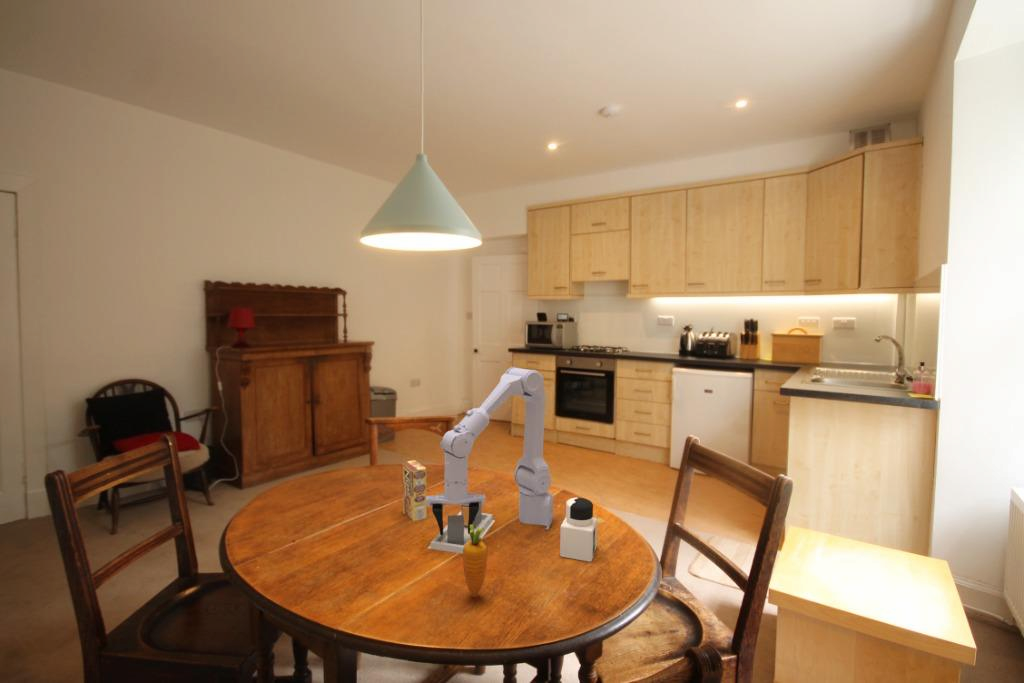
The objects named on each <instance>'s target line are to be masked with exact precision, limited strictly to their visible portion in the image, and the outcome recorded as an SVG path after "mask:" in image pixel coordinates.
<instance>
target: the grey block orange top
mask: <svg viewBox="0 0 1024 683" xmlns="http://www.w3.org/2000/svg"><path fill="white" fill-rule="evenodd" d="M447 525H448V526H447ZM447 525H446V526H447V543H451V544H457V545H464V515H457V514H452V515H448V514H447Z"/></svg>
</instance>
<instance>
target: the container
mask: <svg viewBox="0 0 1024 683" xmlns="http://www.w3.org/2000/svg"><path fill="white" fill-rule="evenodd" d="M565 505H566V506H565V518H564V520H563V521H562V523H561V525H560V539H559V540H560V541H559V543H560V546H559V556H560V557H562V558H565V559H566V558H567V559H573V560H576V561H577V560H578V561H583V562H589V563H591V562H593V559H594V555H595V552H596V549H597V547H598V546H597V542H598V541H597V538H598V536H597V535H598V518H597V517H594V504H593V502H592V501H591V500H589V499H587V498H584V497H572V498H569V499H568V500H566V503H565Z"/></svg>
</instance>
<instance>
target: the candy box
mask: <svg viewBox="0 0 1024 683" xmlns="http://www.w3.org/2000/svg"><path fill="white" fill-rule="evenodd" d="M426 497H427V468H426V467H425V466H424V465H422V464H421V463H420V462H418V461H416V460H408V461H403V462H402V513H403V514H404V516H406V515H407V516H408V517H409V519H410V520H412V521H413V522H416V521H420V520H424V519H427V507H426Z"/></svg>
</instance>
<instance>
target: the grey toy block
mask: <svg viewBox="0 0 1024 683" xmlns="http://www.w3.org/2000/svg"><path fill="white" fill-rule="evenodd" d="M460 505H461V508H460V509H461V510H460V511H461V515H464V527H466V528H468V520H469V504H460ZM482 506H483V505H481V504H479V511H478V513H477V515H476V517H475V519H474V522H473V528H474V529H475V528H476V527H477V526H478V525H479V524H480V522H481V519H482V513H483V512H482V511H483V510H482V509H483V508H482Z"/></svg>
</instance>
